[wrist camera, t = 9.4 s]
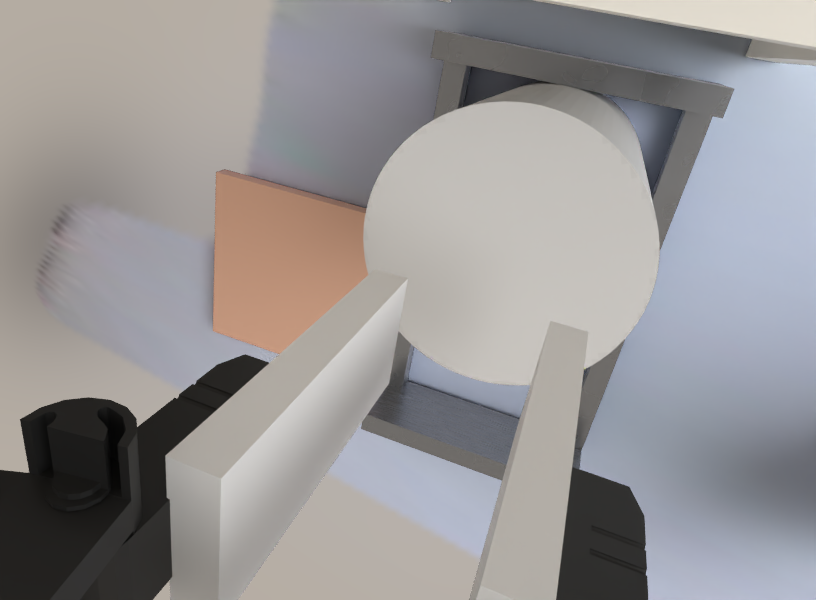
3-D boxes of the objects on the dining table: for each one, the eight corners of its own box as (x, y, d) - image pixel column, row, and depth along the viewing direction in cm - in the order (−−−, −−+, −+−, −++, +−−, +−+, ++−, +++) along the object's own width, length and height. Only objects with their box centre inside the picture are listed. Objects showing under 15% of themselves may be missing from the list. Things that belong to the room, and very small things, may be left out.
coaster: (224, 169, 32) (215, 171, 31) (393, 215, 30) (387, 219, 29) (220, 325, 36) (213, 331, 35) (366, 375, 34) (361, 382, 33)
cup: (454, 247, 29) (362, 357, 19) (467, 75, 26) (363, 91, 15) (623, 270, 27) (626, 410, 16) (660, 85, 24) (694, 113, 13)
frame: (455, 32, 25) (428, 29, 22) (720, 84, 23) (739, 90, 19) (388, 388, 34) (361, 428, 30) (576, 453, 31) (571, 505, 28)
